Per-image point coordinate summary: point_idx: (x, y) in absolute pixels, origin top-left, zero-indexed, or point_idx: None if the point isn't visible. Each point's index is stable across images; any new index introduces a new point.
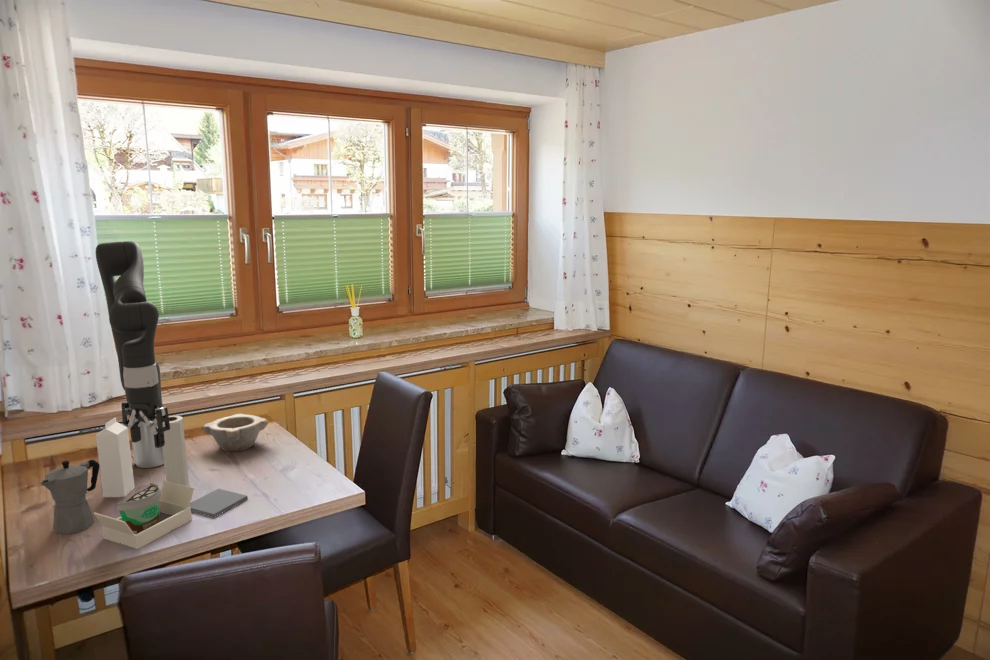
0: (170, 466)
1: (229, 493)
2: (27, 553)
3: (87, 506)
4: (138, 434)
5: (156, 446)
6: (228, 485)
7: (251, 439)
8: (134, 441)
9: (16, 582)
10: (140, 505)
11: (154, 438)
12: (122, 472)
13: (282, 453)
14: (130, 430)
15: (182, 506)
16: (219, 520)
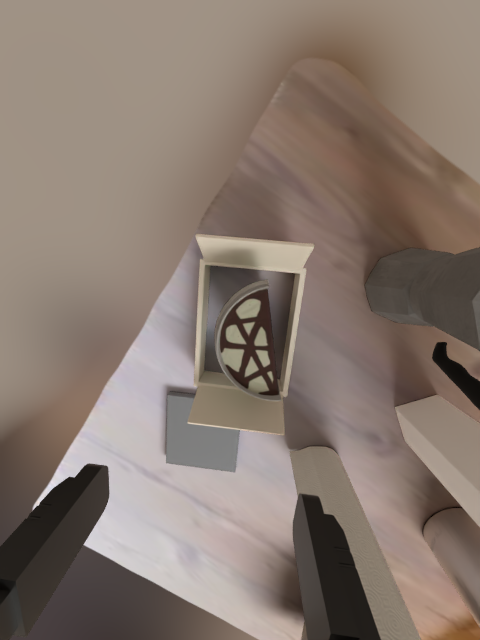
0: (332, 496)
1: (201, 462)
2: (405, 165)
3: (398, 308)
4: (303, 573)
5: (86, 469)
6: (237, 488)
7: (302, 633)
8: (300, 500)
9: (327, 69)
10: (222, 310)
11: (48, 528)
12: (434, 448)
13: (239, 599)
14: (351, 610)
15: (212, 385)
16: (154, 386)
